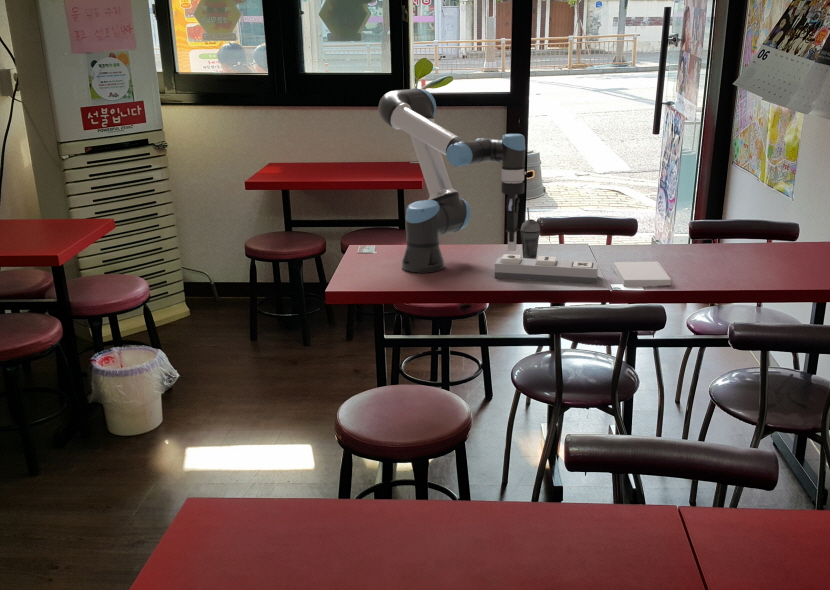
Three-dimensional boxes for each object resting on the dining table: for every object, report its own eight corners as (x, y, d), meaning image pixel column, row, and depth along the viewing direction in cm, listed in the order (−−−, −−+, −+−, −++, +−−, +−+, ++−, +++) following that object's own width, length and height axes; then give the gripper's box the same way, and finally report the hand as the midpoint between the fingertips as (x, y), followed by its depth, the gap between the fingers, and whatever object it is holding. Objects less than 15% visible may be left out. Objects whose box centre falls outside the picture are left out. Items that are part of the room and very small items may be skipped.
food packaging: (670, 289, 263) (656, 270, 282) (671, 279, 262) (657, 261, 281) (623, 289, 264) (613, 271, 283) (624, 280, 263) (613, 262, 282)
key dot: (501, 265, 276) (501, 258, 275) (503, 261, 281) (504, 253, 280) (518, 266, 274) (518, 259, 273) (521, 262, 280) (521, 254, 279)
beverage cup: (540, 264, 292) (542, 209, 286) (520, 264, 292) (521, 209, 286) (538, 258, 299) (540, 205, 293) (518, 259, 299) (519, 205, 293)
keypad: (494, 277, 276) (494, 263, 274) (498, 270, 284) (498, 256, 283) (596, 283, 268) (597, 269, 266) (597, 276, 276) (598, 262, 274)
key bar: (536, 267, 273) (536, 260, 272) (538, 262, 278) (538, 255, 277) (554, 268, 271) (554, 261, 270) (556, 263, 277) (556, 256, 276)
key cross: (572, 273, 270) (572, 265, 269) (573, 268, 276) (574, 261, 275) (590, 274, 269) (591, 266, 268) (591, 269, 274) (592, 262, 273)
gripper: (521, 184, 262) (520, 255, 269) (526, 178, 274) (525, 246, 281) (498, 184, 264) (497, 254, 271) (504, 178, 276) (503, 245, 283)
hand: (511, 250), depth 276 cm, fingers closed
